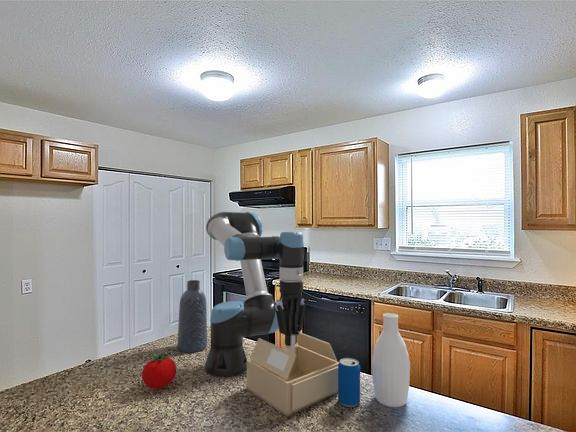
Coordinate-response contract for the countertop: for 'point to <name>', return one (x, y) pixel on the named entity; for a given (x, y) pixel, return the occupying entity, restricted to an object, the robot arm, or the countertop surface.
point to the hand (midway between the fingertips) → (290, 354)
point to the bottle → (391, 365)
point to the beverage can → (349, 382)
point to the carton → (295, 382)
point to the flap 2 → (316, 345)
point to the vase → (192, 319)
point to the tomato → (159, 372)
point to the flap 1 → (273, 358)
